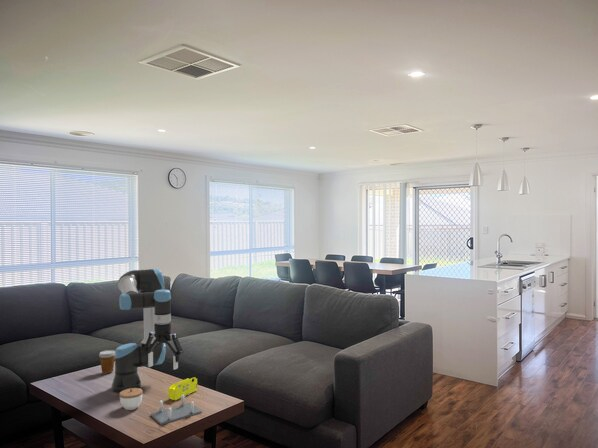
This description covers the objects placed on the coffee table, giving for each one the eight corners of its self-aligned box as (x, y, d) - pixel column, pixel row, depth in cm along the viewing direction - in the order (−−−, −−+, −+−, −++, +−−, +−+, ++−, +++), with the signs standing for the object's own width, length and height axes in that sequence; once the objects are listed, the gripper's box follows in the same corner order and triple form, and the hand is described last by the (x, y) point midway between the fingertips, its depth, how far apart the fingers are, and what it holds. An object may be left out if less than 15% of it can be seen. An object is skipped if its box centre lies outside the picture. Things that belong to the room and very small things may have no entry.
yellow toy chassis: (175, 402, 228) (175, 385, 228) (167, 400, 231) (167, 383, 231) (197, 391, 242) (197, 376, 242) (190, 389, 245) (190, 374, 245)
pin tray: (150, 415, 212) (150, 402, 212) (190, 404, 224) (190, 392, 224) (161, 425, 202) (161, 411, 202) (202, 413, 214) (201, 400, 214)
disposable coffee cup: (95, 373, 271) (95, 354, 271) (105, 368, 280) (104, 349, 280) (110, 374, 269) (110, 354, 269) (119, 369, 279) (118, 350, 279)
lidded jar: (129, 414, 214) (128, 394, 214) (114, 409, 220) (114, 390, 220) (147, 406, 223) (147, 387, 223) (133, 401, 229) (133, 383, 229)
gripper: (135, 323, 213) (135, 367, 213) (181, 326, 206) (182, 372, 206) (144, 319, 220) (145, 362, 220) (190, 322, 213) (190, 367, 213)
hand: (163, 367), depth 213 cm, fingers open, 13 cm apart
